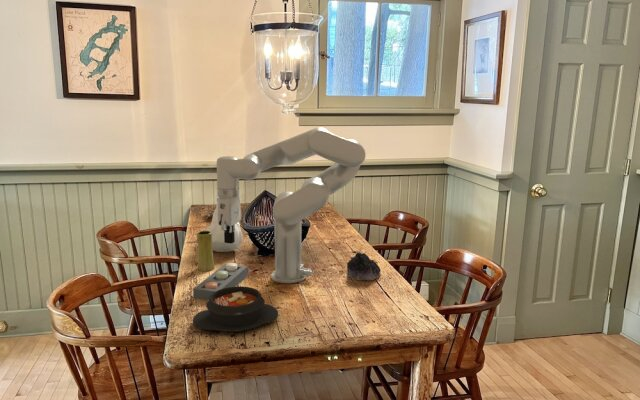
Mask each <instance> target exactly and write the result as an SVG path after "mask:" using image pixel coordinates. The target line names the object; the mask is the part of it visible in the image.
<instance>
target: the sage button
mask: <svg viewBox="0 0 640 400" xmlns="http://www.w3.org/2000/svg"><path fill="white" fill-rule="evenodd" d="M216 279H219V280H226V279H228V272H227V271H218V272H216Z"/></svg>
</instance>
